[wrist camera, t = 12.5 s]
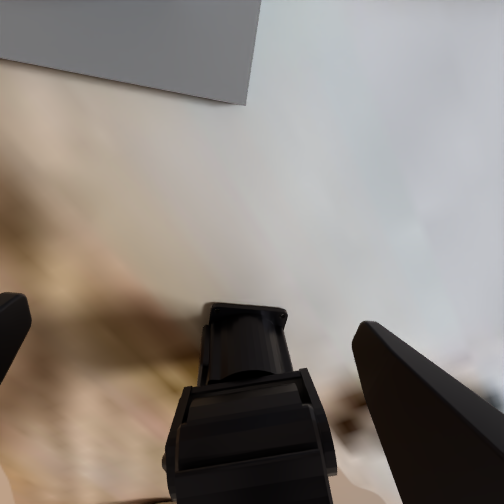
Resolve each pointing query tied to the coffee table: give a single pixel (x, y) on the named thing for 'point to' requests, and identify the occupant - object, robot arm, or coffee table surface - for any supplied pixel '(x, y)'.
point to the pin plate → (139, 41)
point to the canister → (167, 503)
